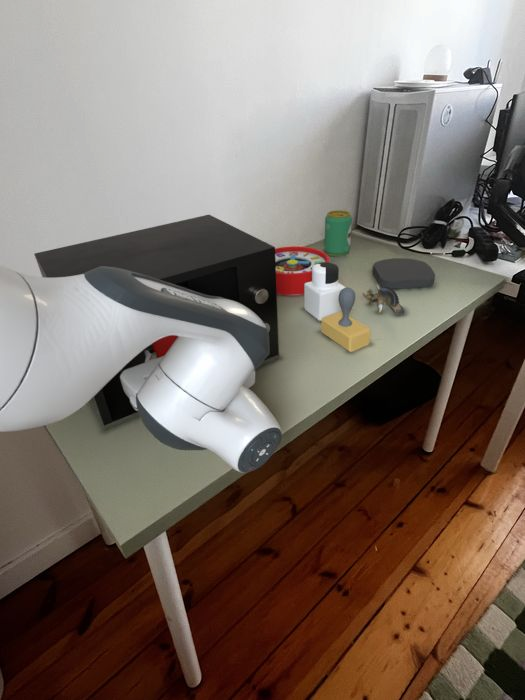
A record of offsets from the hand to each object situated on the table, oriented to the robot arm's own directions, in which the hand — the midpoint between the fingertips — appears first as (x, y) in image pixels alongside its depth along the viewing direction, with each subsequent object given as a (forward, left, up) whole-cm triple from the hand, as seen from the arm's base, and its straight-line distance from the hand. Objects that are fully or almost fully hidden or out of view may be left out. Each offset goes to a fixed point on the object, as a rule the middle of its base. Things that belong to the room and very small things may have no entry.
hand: (169, 345), depth 74 cm
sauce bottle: (0, -1, -9) cm, 9 cm away
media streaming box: (+71, +12, -12) cm, 73 cm away
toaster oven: (+4, +13, -12) cm, 18 cm away
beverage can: (+70, +38, -12) cm, 80 cm away
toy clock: (+47, +30, -12) cm, 57 cm away
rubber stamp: (+38, -2, -12) cm, 40 cm away
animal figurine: (+54, +2, -12) cm, 55 cm away
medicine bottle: (+42, +10, -12) cm, 45 cm away
